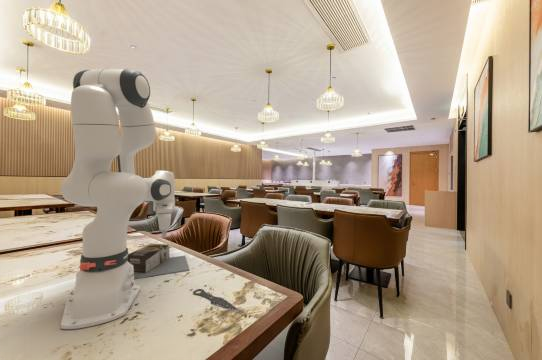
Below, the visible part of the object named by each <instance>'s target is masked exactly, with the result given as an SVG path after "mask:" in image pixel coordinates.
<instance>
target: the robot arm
mask: <svg viewBox="0 0 542 360" xmlns="http://www.w3.org/2000/svg"><path fill="white" fill-rule="evenodd" d="M72 86H73V90H72V92H71V97H70V116H71V117H70V119H71V125H72V132H73V139H74V140H73V141H74V149H75V151H74V152H75V153H74V155H75V156H74V162H73V165H72V168H71V171H70V173H69V174H68V176H67V177H65V178H64V179H63V181H62V183H61V186H60V193H61V195H62V197H63V198H64V199H65V200H66V201H67V202H69V203H72V204H74V205H77V206H81V207H90V208H93V207H94V208H97V209H96V214H95V216H94V219H93V221H91V222H89V223H87V224H86V225H85V226H84V228H83V230H82V254H81V255H80V260H79V270H78V271H77V272H76V273H75V285H74V290H71V293H70V295H71V296H70V297H68V298H67V299H66V301H65V305H64V310H63V314H62V318H61V321H60V326H59V327H60V329H62V330H76V329H77V330H78V329H83V328H89V327H92V326H97V325H100V324H104V323H107V322H108V323H109V322H111V321H114V320H116V319H118V318H122V317H123V316H125V315H127V313H128V311H129V310H130V308H131V306H132V304H133V302H134V301H135V299H136V297H137V296H138V295H139V293H140V291H141V286H140V285H138V284H137V285H136V284H135V279H134V269H133V265H132V264H130V263H129V262H128V261H127V260H128V255H129V254H130V253H129V248H127V246H128V245H127V244H128V243H127V239H128V235H127V234H128V226H129V221H130V218H131V216H132V214H133V213H134V211H135V210H136V209H137V208H138V207H139V206H140V205H142V204H143V202H152V203H153V205H152V207H153V212H155V214H156V215H157V221H158V228H159V231H160V232H161V238H166V237H167V232H168V231H170V228H171V221H172V213H174V211H175V209H176V198H175V192H176V180H175V174H174V172H173V171H171V170H168V169H167V170H165V169H158V170H155V172H154V174H153V175H151V176H150V177H142V176H140V175H138V174H136V167H135V156H136V154H137V153H138V152H140V151H142V150H144V149H147V148H149V147H150V146H151V145H153V143H154V142H155V141H156V137H157V130H156V126H155V121H154V116H153V112H152V110H151V107H150V104H149V99H150V96H151V85H150V83H149V81H148V79H147V78H146V76H145V75H144V74H143V73H142V72H141V71H139V70H137V69H131V68H125V69H120V68H108V67H107V68H105V67H104V68H95V69H85V70H83V69H82V70H81V71H78V72H76V74H74V77H73V79H72ZM116 108H117V109H116ZM117 110H118V111H117ZM117 112H118V113H117ZM120 129H121V130H120ZM115 158H116V159H117V169H118V171H111V167H112V163H113V161H114V159H115Z"/></svg>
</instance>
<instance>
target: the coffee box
mask: <svg viewBox="0 0 542 360" xmlns="http://www.w3.org/2000/svg"><path fill="white" fill-rule="evenodd" d="M128 254H129V255H128V260H127V261H128V262H129V263H130V264H132V265H133V269H134V272H141V273H146V272H148V271H149V270H151V269H152V268H154V267H156V266H157V265H159V264H160V263H162V262H163V261H165V260H167V259H168V258H170V244H164V243H163V244H162V243H149V244H147V245H145V246H143V247H140V248H139V249H136V250H134V251H133V252H129V253H128Z"/></svg>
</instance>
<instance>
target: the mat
mask: <svg viewBox="0 0 542 360" xmlns="http://www.w3.org/2000/svg"><path fill="white" fill-rule="evenodd" d="M188 271H190V267H189V263H188V261H187V257H186V255H180V256H172V257H171V256H169V258H168V259H167V260H165V261H163V262H162V263H160V264H159V265H157V266H156V267H154V268H152V269H151V270H149V271H148V272H146V273H141V272H134V280H138V279H144V278H151V277H157V276H163V275H170V274H177V273H183V272H188Z"/></svg>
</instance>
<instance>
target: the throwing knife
mask: <svg viewBox="0 0 542 360" xmlns="http://www.w3.org/2000/svg"><path fill="white" fill-rule="evenodd" d="M192 295H193V296H198V297H202V298H204V299H206V300H208V301H209V302H210V305H213V306H216V307H219V308H222V309H226V310H230V311H233V310H234V312H239V313H241V311H240V310H239V309H238V308H237V307H236V306H235V305H234V304H232V303H231V302H229V301H228V300H227V299H225V298H223V297H219V296H215V295H212V294H210V293H208V292H206V290H204V289H203V288H197V289H195V290H194V291H192Z"/></svg>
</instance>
